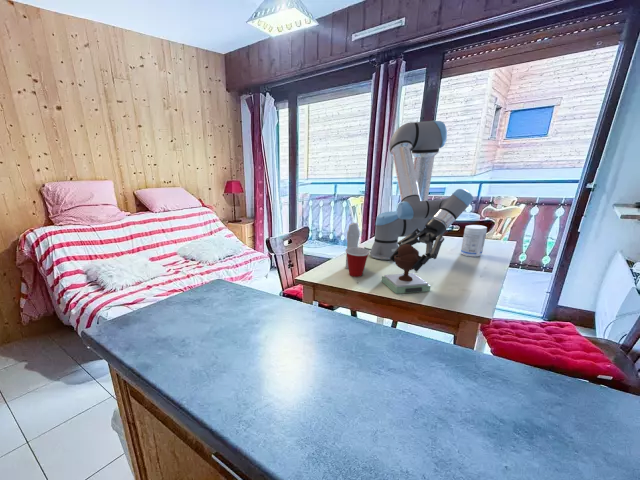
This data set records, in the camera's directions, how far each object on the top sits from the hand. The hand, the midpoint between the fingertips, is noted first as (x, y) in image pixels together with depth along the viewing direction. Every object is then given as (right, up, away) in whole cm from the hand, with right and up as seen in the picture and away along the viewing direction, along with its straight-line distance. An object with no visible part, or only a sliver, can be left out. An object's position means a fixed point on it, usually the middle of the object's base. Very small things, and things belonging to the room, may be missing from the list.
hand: (402, 264), depth 133 cm
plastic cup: (-13, -4, +20) cm, 24 cm away
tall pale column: (-12, +1, +32) cm, 34 cm away
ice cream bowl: (+3, -6, +3) cm, 7 cm away
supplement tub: (+53, +8, +38) cm, 66 cm away
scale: (+3, -9, +4) cm, 10 cm away
